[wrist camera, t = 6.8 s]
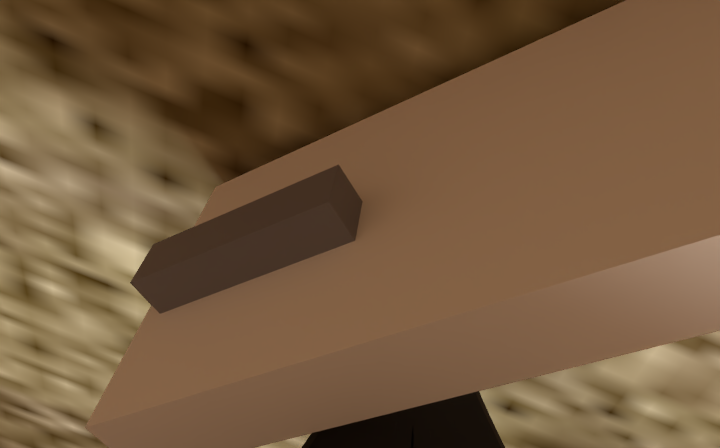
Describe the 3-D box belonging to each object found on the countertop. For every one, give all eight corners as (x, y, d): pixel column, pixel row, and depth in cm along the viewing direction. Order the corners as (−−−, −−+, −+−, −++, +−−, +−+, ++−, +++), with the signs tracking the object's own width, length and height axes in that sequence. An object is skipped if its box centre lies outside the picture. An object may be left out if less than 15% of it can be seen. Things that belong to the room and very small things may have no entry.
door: (983, -220, 7) (1762, -190, 3) (984, -77, 7) (1599, 109, 4) (195, 160, 11) (46, 395, 7) (247, 228, 12) (141, 475, 8)
